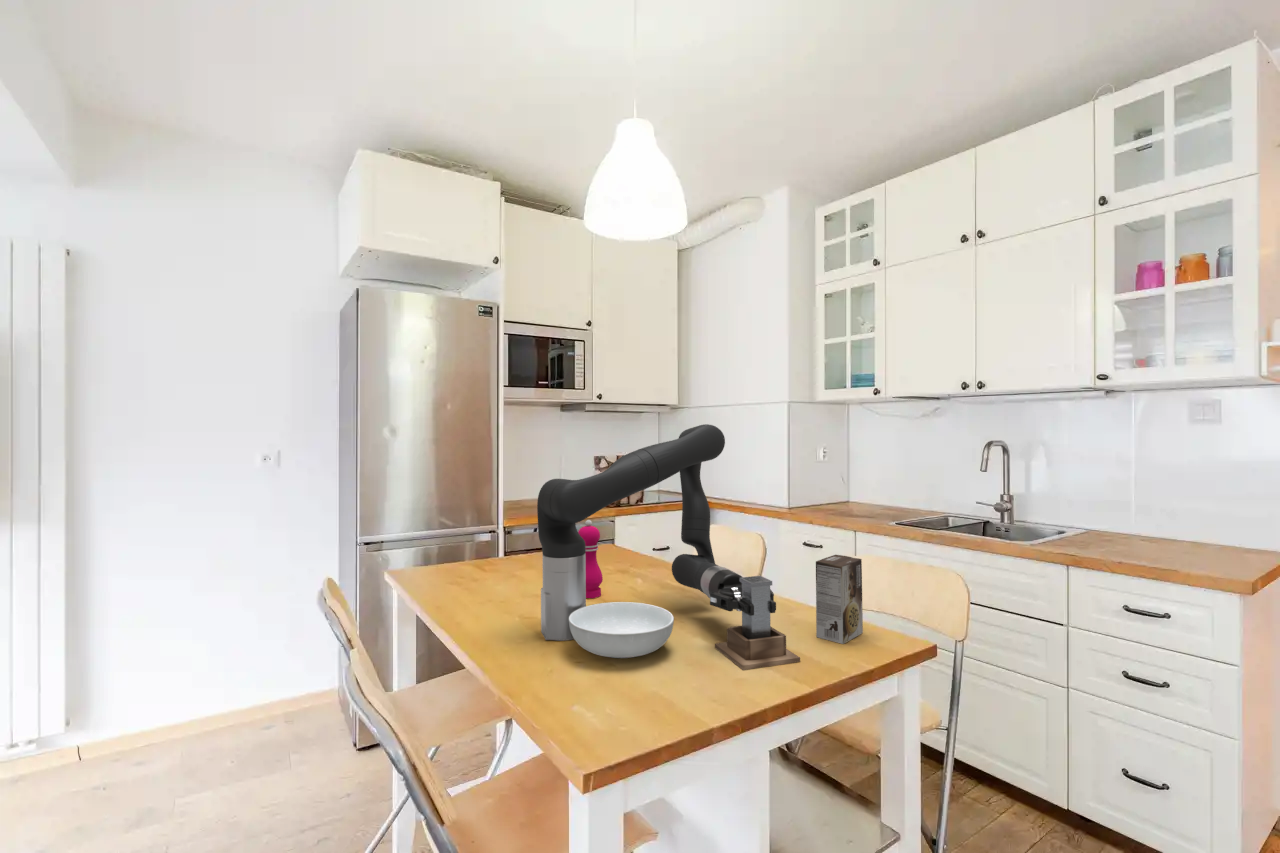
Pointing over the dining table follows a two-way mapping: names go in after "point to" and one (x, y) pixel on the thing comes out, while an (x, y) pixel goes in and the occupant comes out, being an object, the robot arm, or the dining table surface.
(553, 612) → the robot arm
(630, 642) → the serving bowl
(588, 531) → the pepper mill
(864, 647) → the dining table surface
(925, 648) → the dining table surface
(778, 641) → the box
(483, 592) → the dining table surface
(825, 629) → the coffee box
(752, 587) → the grey square peg
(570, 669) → the dining table surface
